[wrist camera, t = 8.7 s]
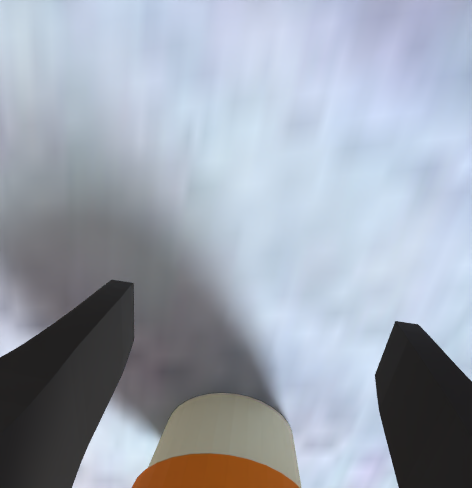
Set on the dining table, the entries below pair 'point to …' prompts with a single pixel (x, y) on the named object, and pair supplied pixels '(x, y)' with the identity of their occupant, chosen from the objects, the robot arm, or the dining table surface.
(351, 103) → the dining table surface
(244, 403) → the reusable coffee cup
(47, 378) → the robot arm
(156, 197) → the dining table surface
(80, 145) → the dining table surface
